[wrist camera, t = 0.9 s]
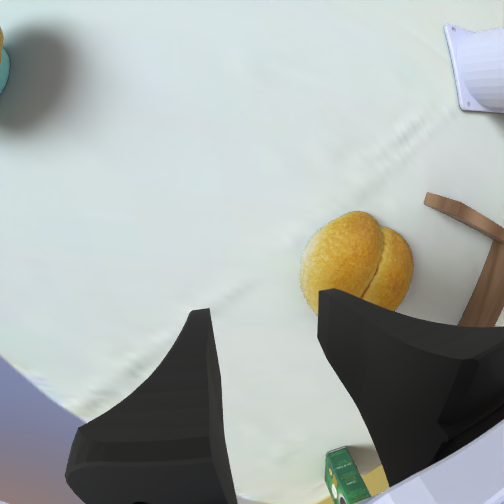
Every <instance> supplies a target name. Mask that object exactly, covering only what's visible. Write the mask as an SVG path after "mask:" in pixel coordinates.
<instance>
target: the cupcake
mask: <svg viewBox="0 0 504 504" xmlns="http://www.w3.org/2000/svg"><path fill="white" fill-rule="evenodd" d="M9 70H10V62H9V57H8V55H7V53H6V51H5V50H4V49H3V33H2V30H1V28H0V94H1V92H2V91H3V89H4V87H5V85H6V82H7V79H8V76H9Z"/></svg>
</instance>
